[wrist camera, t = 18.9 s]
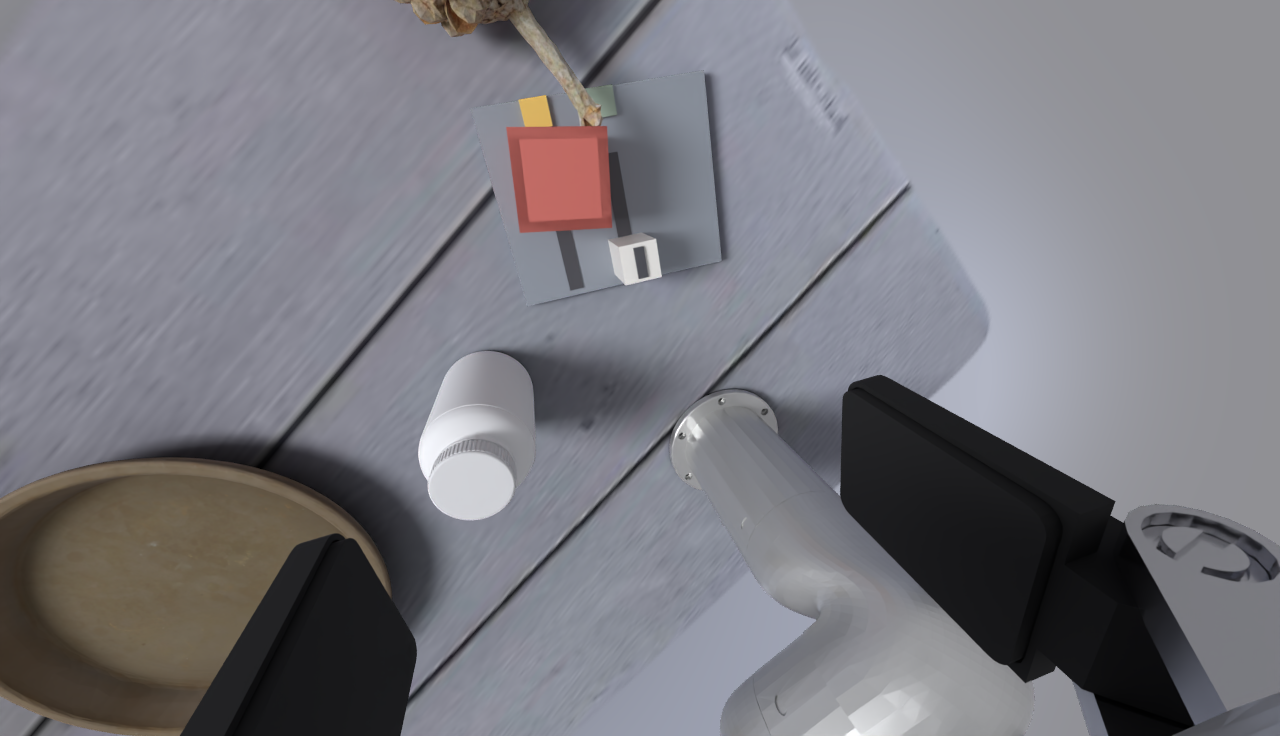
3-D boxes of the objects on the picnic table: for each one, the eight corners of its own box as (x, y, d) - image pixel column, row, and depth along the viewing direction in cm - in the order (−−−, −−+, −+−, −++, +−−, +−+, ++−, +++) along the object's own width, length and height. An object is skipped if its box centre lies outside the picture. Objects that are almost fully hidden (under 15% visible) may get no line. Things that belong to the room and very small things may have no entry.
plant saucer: (187, 363, 35) (143, 388, 31) (466, 568, 49) (461, 603, 45) (-115, 590, 36) (-195, 642, 32) (243, 728, 50) (218, 777, 46)
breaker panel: (717, 259, 42) (744, 270, 37) (527, 303, 40) (528, 322, 35) (699, 72, 36) (729, 55, 31) (471, 110, 33) (462, 98, 28)
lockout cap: (599, 221, 37) (612, 227, 32) (520, 225, 36) (519, 233, 31) (594, 134, 35) (607, 126, 30) (508, 135, 34) (506, 126, 28)
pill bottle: (430, 358, 40) (385, 451, 26) (523, 340, 41) (525, 421, 28) (455, 434, 43) (427, 552, 29) (540, 416, 44) (550, 520, 31)
